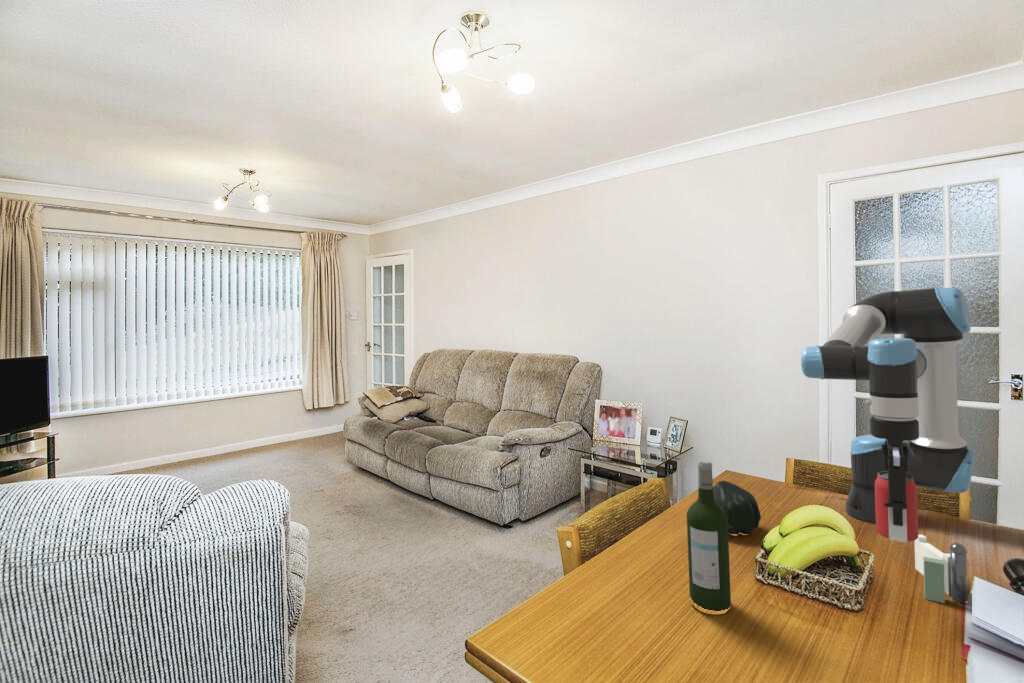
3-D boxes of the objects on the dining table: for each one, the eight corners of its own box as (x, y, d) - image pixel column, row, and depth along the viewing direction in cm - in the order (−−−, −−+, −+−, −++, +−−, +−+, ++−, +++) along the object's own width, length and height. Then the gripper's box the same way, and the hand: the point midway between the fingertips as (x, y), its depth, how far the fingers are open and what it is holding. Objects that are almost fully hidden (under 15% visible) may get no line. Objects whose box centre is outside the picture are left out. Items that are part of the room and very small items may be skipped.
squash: (773, 508, 136) (733, 465, 141) (768, 530, 124) (724, 482, 128) (733, 533, 142) (696, 491, 147) (725, 557, 130) (684, 510, 135)
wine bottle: (729, 597, 103) (723, 457, 102) (733, 618, 96) (727, 467, 95) (689, 592, 106) (684, 455, 105) (690, 612, 98) (684, 466, 97)
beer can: (926, 543, 92) (925, 480, 91) (887, 542, 93) (885, 480, 93) (906, 529, 98) (904, 470, 98) (869, 528, 99) (867, 470, 99)
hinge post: (949, 595, 100) (948, 539, 100) (967, 599, 98) (965, 542, 98) (951, 601, 98) (950, 544, 97) (969, 605, 96) (967, 547, 96)
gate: (957, 595, 100) (956, 557, 99) (948, 595, 100) (947, 556, 100) (923, 569, 110) (922, 534, 110) (915, 568, 111) (914, 534, 111)
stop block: (924, 594, 101) (923, 556, 100) (943, 598, 99) (942, 560, 99) (925, 599, 99) (924, 560, 99) (944, 603, 97) (943, 564, 97)
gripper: (869, 408, 105) (872, 513, 106) (870, 425, 89) (874, 548, 90) (914, 410, 101) (917, 520, 101) (923, 428, 85) (927, 558, 85)
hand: (896, 533), depth 95 cm, fingers closed on beer can, 6 cm apart
